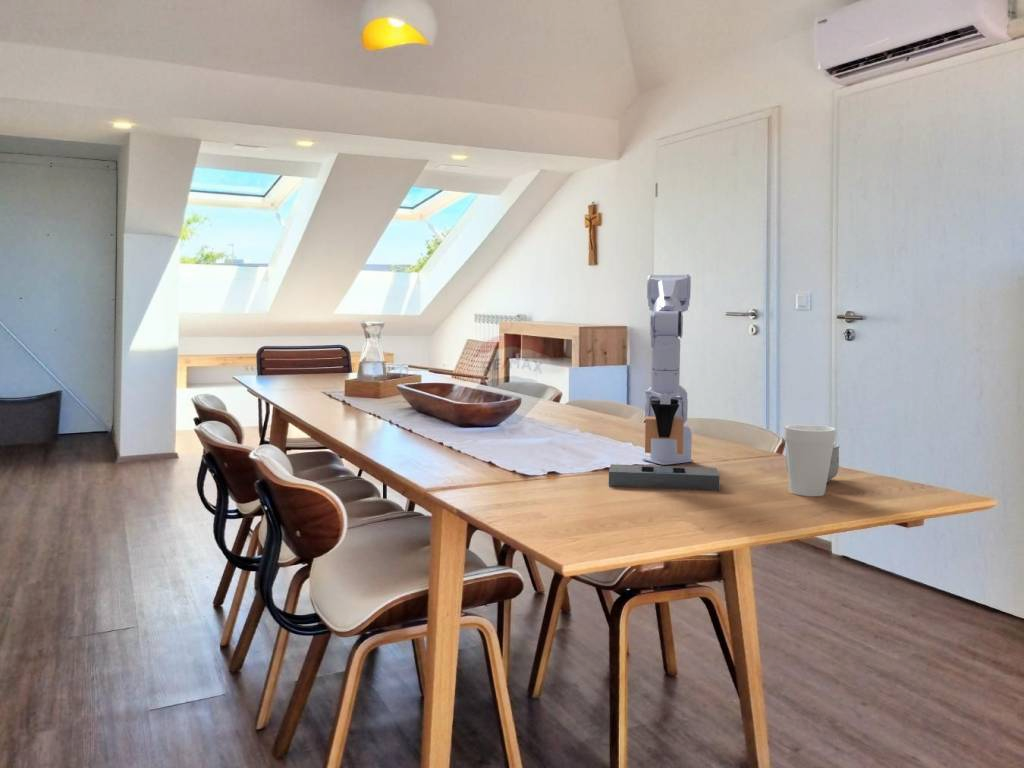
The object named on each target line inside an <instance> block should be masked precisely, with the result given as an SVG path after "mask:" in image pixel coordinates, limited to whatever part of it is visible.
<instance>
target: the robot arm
mask: <svg viewBox="0 0 1024 768" xmlns="http://www.w3.org/2000/svg"><path fill="white" fill-rule="evenodd" d="M691 279H692V277H691V275H690V274H688V273H687V274H653V273H652V274H649V275H648V276H647V282H646V283H647V284H646V288H647V289H646V298H647V306H648V307H649V310H650V311H652V313H650V316H649V317H650V318H649V319H650V320H649V323H650V324H649V334H650V346H651V348H652V349H651V364H650V365H651V366H650V367H651V373H650V376H651V378H650V387H649V388H647V389H646V390H645V391H644V394H645V401H644V402H645V404H644V419H645V421H646V416H648V417H656V422H657V429H658V435H659V437H665V438H669V437H670V434H671V429H672V424H673V419H674V417H683V420H684V426H683V454H677V452H676V440H677V439H651V453H649V456H646V457H641V460H643V461H646V462H650V463H653V464H658V465H660V466H666V465H667V466H669V465H675V464H683V463H691V462H692V463H693V462H694V459H693V458H692V444H693V443H692V442H693V441H692V439H693V438H692V437H693V436H692V431H691V429H690V426H688V425H687V424H686V423H687V422H688V408H689V407H688V406H689V405H688V402H689V399H688V392H687V390H686V389H685V388H684V387H683V386H682V385H680V378H681V377H680V371H681V339H682V338H683V334H684V327H683V326H684V316H683V315H684V314H683V313H685V312H686V311H688V310H689V307H690V300H691V286H692V285H691V284H692V283H691V282H692V281H691Z"/></svg>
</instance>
